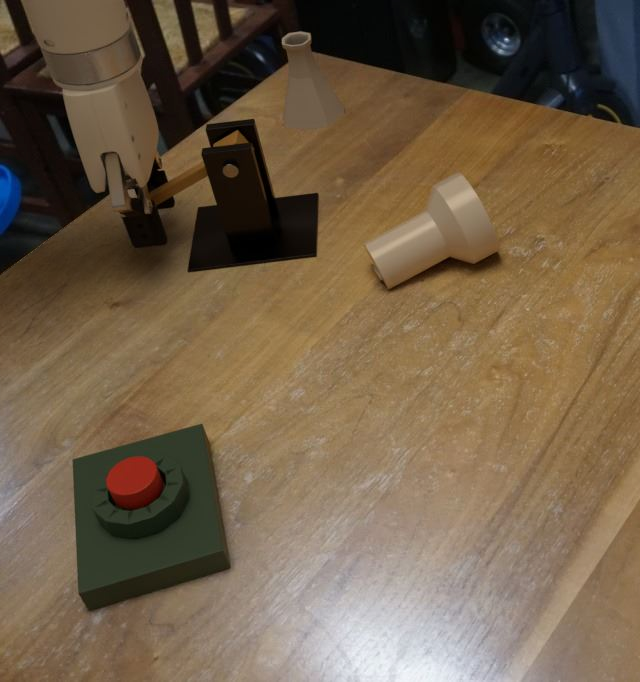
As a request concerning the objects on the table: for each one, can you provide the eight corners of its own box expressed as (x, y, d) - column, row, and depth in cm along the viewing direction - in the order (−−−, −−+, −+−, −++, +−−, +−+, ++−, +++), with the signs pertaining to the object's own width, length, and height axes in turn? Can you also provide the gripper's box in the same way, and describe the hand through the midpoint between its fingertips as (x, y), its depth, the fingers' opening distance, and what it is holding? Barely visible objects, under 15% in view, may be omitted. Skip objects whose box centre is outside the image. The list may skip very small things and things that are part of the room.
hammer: (144, 231, 102) (126, 213, 100) (151, 200, 105) (134, 182, 104) (252, 170, 99) (234, 151, 97) (255, 140, 102) (238, 121, 101)
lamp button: (112, 479, 81) (104, 464, 80) (161, 465, 81) (154, 450, 80) (114, 516, 78) (107, 500, 77) (165, 501, 79) (158, 486, 78)
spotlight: (514, 261, 99) (484, 187, 95) (404, 322, 98) (368, 250, 93) (482, 227, 106) (452, 157, 101) (378, 284, 104) (343, 215, 100)
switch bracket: (190, 279, 103) (154, 175, 95) (201, 216, 110) (167, 114, 102) (318, 264, 103) (292, 158, 95) (320, 202, 111) (296, 99, 103)
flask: (292, 103, 125) (273, 21, 118) (353, 104, 124) (338, 22, 117) (273, 138, 120) (252, 55, 113) (337, 139, 119) (320, 56, 112)
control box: (81, 477, 86) (63, 443, 83) (209, 441, 88) (196, 407, 85) (88, 611, 77) (69, 578, 74) (231, 568, 79) (217, 534, 76)
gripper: (66, 11, 98) (128, 179, 111) (25, 111, 86) (101, 288, 98) (150, 1, 98) (203, 170, 111) (122, 100, 86) (185, 278, 98)
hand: (154, 224), depth 104 cm, fingers closed on hammer, 5 cm apart
